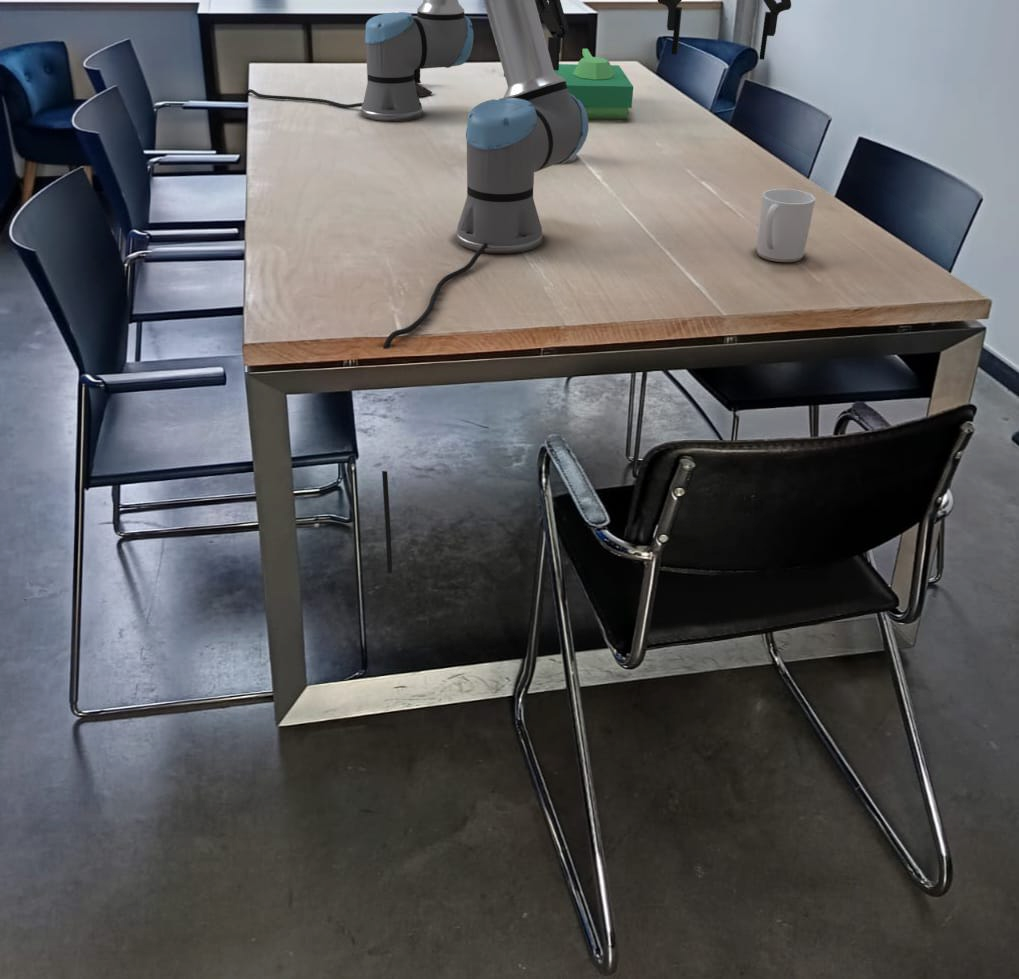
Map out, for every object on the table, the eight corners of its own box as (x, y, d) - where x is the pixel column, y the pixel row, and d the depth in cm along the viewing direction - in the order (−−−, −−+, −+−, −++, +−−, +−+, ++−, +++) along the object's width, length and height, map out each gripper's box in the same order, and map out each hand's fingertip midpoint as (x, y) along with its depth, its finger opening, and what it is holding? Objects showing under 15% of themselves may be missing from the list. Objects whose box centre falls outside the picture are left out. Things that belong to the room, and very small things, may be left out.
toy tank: (616, 45, 298) (634, 70, 268) (612, 92, 304) (630, 122, 275) (551, 43, 297) (563, 69, 267) (549, 91, 303) (560, 121, 274)
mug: (769, 242, 197) (777, 185, 192) (814, 254, 192) (824, 196, 187) (738, 258, 190) (746, 199, 184) (785, 270, 185) (795, 210, 180)
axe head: (443, 87, 294) (392, 77, 287) (436, 115, 299) (385, 106, 292) (421, 62, 307) (371, 52, 300) (414, 89, 311) (365, 80, 304)
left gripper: (504, -31, 215) (503, 83, 226) (587, -38, 230) (583, 68, 241) (477, -34, 220) (478, 78, 230) (561, -41, 235) (557, 64, 246)
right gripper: (821, -96, 162) (798, 55, 173) (653, -102, 166) (641, 46, 177) (822, -93, 156) (799, 64, 167) (647, -99, 160) (636, 54, 171)
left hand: (531, 73), depth 236 cm, fingers open, 13 cm apart
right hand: (717, 55), depth 172 cm, fingers open, 13 cm apart
